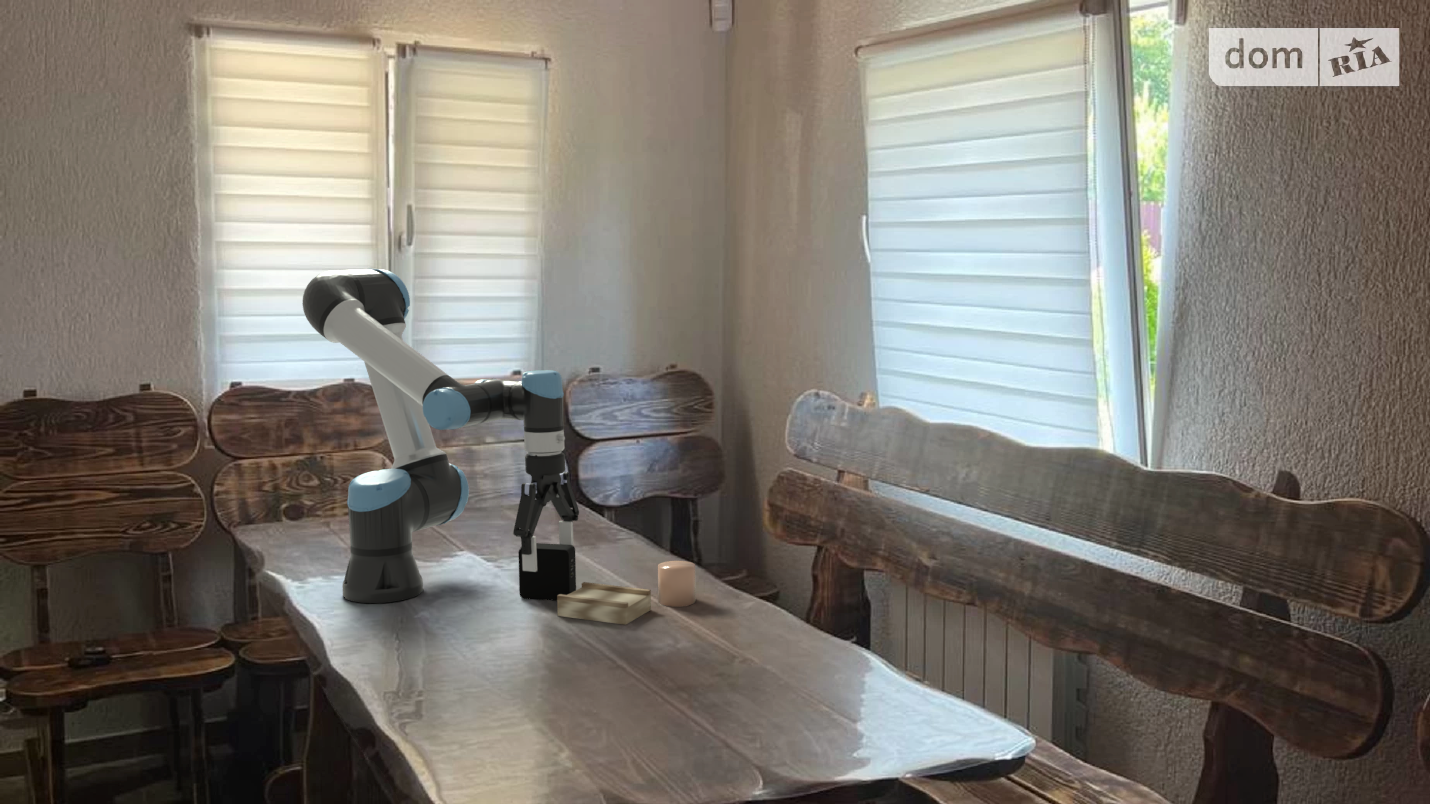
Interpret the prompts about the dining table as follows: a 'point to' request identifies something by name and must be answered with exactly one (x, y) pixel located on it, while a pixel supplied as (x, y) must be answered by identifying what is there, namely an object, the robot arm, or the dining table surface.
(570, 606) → the stand
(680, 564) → the peach rounded cylinder
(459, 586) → the dining table surface
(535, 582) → the electronic device
